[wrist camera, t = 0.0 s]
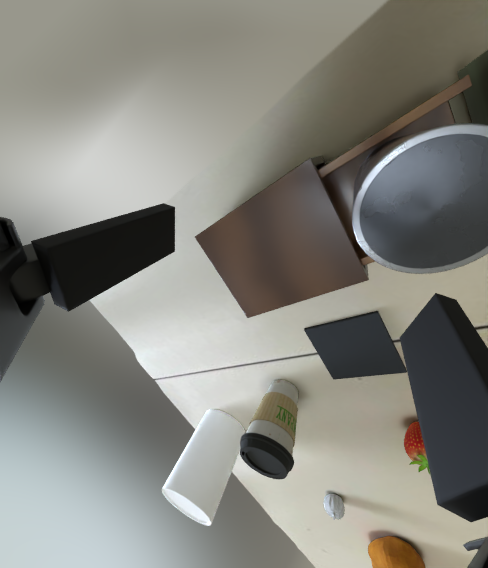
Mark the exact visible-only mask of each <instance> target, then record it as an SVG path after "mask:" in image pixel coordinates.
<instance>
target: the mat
mask: <svg viewBox="0 0 488 568" xmlns="http://www.w3.org/2000/svg"><path fill="white" fill-rule="evenodd" d="M304 330H305V332H306V334H307V336H308V337H309V339H310V341H311V342H312V344H313V346H314V347H315V349H316V351H317V352H318V354H319V356H320V358H321V359H322V361H323V363H324V364H325V366H326V368H327V369H328V371H329V373H330V374H331V376H332V378H333V379H343V378H353V377H364V376H374V375H385V374H395V373H406V372H407V370H406V368H405V366H404V364H403V362H402V360H401V358H400V356H399V354H398V352H397V350H396V348H395V346H394V344H393V341H392V339H391V337H390V335H389V333H388V331H387V329H386V327H385V325H384V323H383V321H382V319H381V317H380V315H379V313H378V311H376V312H371V313H367V314H363V315H359V316H355V317H350V318H346V319H342V320H338V321H334V322H330V323H325V324H321V325H317V326H313V327H309V328H305V329H304Z"/></svg>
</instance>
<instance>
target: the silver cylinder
mask: <svg viewBox="0 0 488 568" xmlns="http://www.w3.org/2000/svg"><path fill="white" fill-rule="evenodd" d="M352 225H353V230H354V234H355V236H356V239H357V241H358V243H359V245H360V246H361V248H362V249H363V250H364V252H365V253H366V254H367V255H368V256H369V257H370V258H372V259H373V260H374V261H376V262H377V263H379V264H381V265H383V266H385V267H387V268H390V269H392V270H396V271H400V272H405V273H415V274H427V273H437V272H443V271H447V270H451V269H455V268H458V267H461V266H464V265H466V264H469V263H471V262H473V261H475V260H477V259H479V258H481V257H483V256H484V255H486V254H488V125H485V124H475V123H461V124H452V125H445V126H441V127H437V128H433V129H429V130H425V131H421V132H418V133H414V134H410V135H406V136H402V137H399V138H395V139H393V140H390V141H388V142H386V143H384V144H382V145H381V146H379V147H378V148H377V149H375V150H374V151H373V152H372V153H371V154H370V155H369V156H368V157H367V158H366V159H365V161H364V162H363V163H362V165H361V167H360V168H359V170H358V173H357V175H356V178H355V183H354V195H353V210H352Z"/></svg>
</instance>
